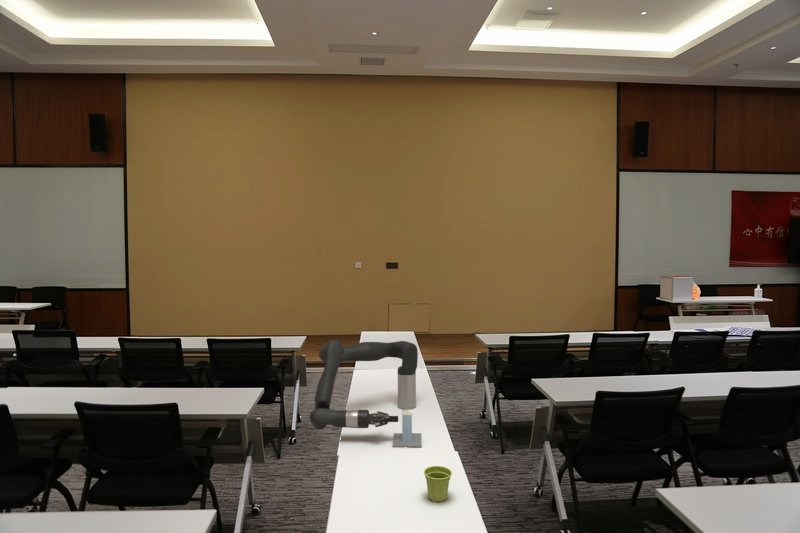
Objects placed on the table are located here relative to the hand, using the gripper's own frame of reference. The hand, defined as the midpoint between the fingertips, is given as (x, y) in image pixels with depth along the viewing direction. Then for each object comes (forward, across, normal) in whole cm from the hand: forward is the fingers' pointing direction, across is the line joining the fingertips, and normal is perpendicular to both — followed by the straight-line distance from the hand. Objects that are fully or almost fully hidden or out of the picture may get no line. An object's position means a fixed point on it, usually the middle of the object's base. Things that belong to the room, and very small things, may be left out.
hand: (398, 418), depth 217 cm
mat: (+4, 0, +10) cm, 10 cm away
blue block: (+4, 0, +9) cm, 10 cm away
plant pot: (+15, -47, +10) cm, 50 cm away
